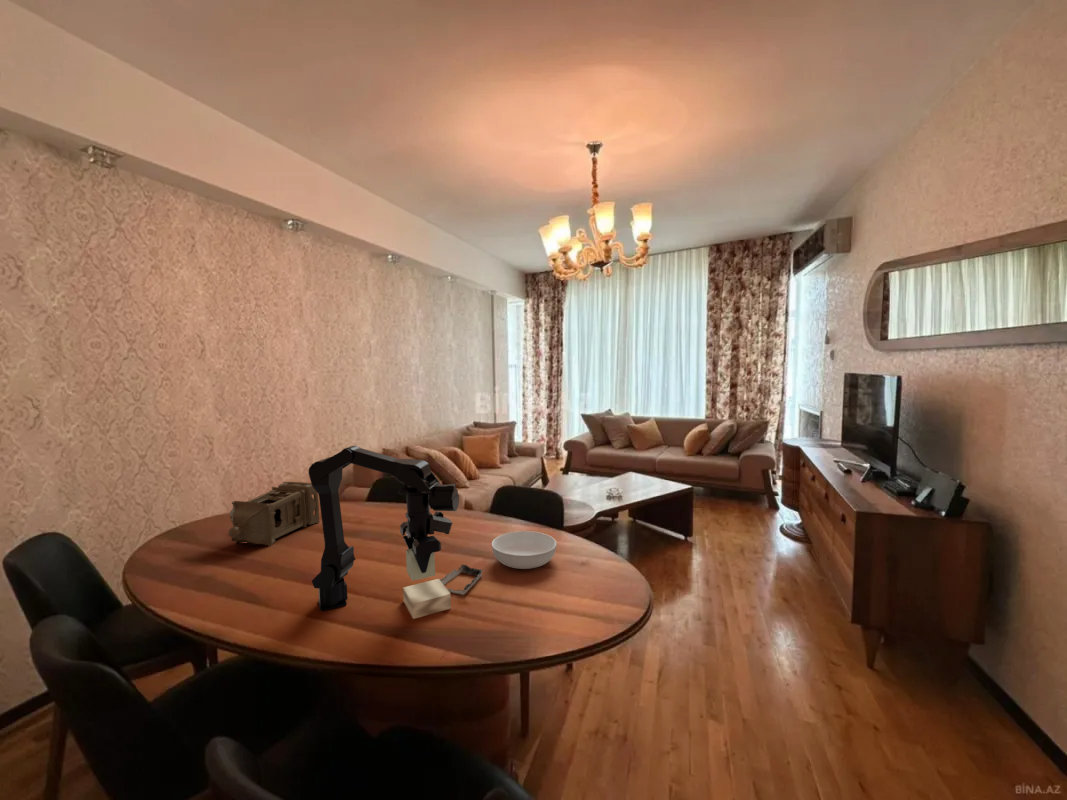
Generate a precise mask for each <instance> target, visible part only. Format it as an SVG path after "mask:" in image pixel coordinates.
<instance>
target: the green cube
mask: <svg viewBox="0 0 1067 800" xmlns="http://www.w3.org/2000/svg"><path fill="white" fill-rule="evenodd" d="M435 553H436V552H433V553H432V554H431V556H430V559H429V563H428V567H427V571H426V572H425V573H422V572H421V570H420V568H419V566H418V563H417V561H416V559H415V557H414V554H413V552H412V549H408V548H407V549H406V550H405V564H406V573H407V575H408V576H409V578H410V579H411V581H412V582H414V581H417V580H422V579H427V578H430V577H434V576H435V577H436V559H435V558H436V556H435V555H436V554H435Z"/></svg>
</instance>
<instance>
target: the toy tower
mask: <svg viewBox="0 0 1067 800" xmlns="http://www.w3.org/2000/svg"><path fill="white" fill-rule="evenodd" d="M231 504H232V509H231V510H230V512H229V519H230V521H231V523H232V527H231V528H230V529H229V530H228V532H227V533H228V534H227V535H228V536H229V537H230V538H231V542H235V544H238V543H237V542H247V543H255V544H254V545H256V544H264V545H263V546H267V545H268V546H267V547H269V546H270V545H271V546H273V544H274V543H275V542H276V539H278V538H280V537H282V536H284V535H286V534H289V533H290V532H293V531H295V530H297V529H299V528H307V525H309V526H310V525H313V524H317V523H320V501H319V495H318V493H317V491H316V490H315V489H314V488H313V486H312V484H311V482H303V481H283V482H282V483H281V484H279V485H278V486H277V487H275V486H274V487H273V486H272V487H271V490H269V491H267V492H265V493H263V494H260V495H259V496H257V497H256V496H255V497H254V498H252V499H249V500H247V501H241V500H239V501H238V500H233V501H231ZM271 546H270V547H271Z"/></svg>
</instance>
